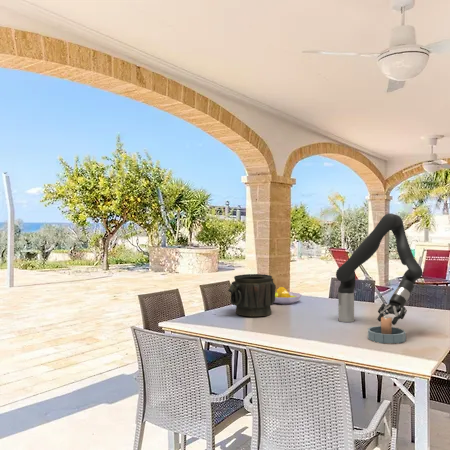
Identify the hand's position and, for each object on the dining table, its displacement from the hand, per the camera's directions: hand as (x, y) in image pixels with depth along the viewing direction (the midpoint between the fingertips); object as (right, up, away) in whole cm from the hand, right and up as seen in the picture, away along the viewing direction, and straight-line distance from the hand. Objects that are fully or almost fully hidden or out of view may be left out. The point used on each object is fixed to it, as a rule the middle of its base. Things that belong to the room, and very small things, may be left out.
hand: (385, 322), depth 233 cm
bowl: (0, -9, 0) cm, 9 cm away
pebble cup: (0, -8, 0) cm, 8 cm away
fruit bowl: (-40, -8, +107) cm, 115 cm away
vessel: (-64, -9, +67) cm, 93 cm away
